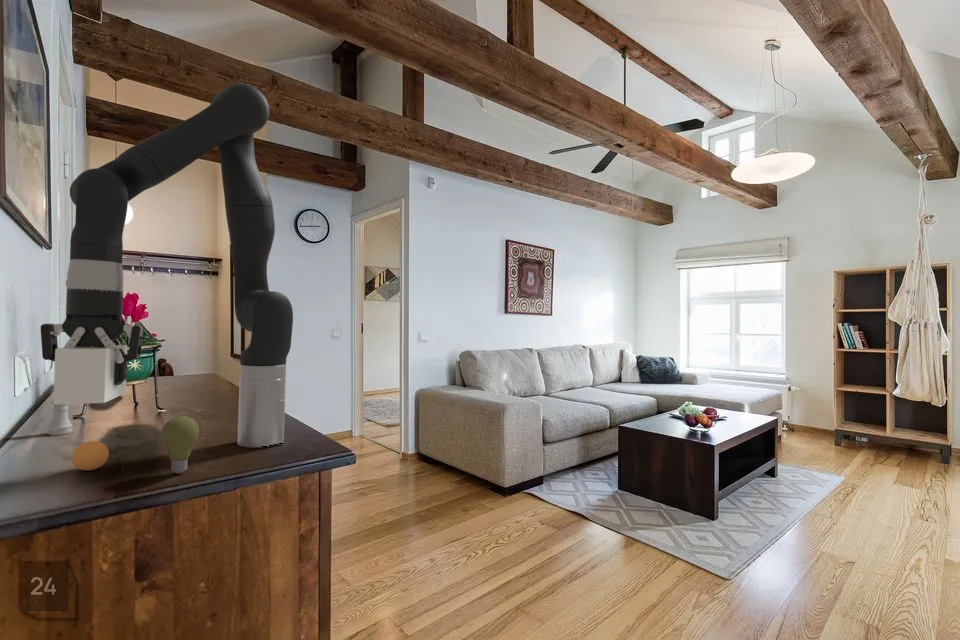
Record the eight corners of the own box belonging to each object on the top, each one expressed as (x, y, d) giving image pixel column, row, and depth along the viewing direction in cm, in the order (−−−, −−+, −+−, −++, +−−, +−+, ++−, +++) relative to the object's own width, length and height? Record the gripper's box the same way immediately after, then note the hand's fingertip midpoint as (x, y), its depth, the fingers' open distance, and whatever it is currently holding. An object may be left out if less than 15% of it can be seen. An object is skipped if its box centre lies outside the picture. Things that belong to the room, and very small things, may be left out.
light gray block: (125, 392, 87) (127, 345, 87) (104, 402, 77) (106, 349, 77) (81, 393, 85) (83, 344, 85) (53, 404, 75) (55, 348, 75)
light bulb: (174, 467, 85) (176, 412, 85) (204, 469, 85) (206, 413, 85) (151, 477, 80) (153, 418, 80) (184, 479, 80) (186, 420, 80)
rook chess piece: (57, 436, 103) (58, 399, 103) (40, 434, 104) (42, 398, 104) (78, 431, 108) (79, 396, 108) (62, 430, 108) (63, 395, 108)
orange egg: (97, 461, 80) (105, 475, 83) (109, 435, 84) (116, 450, 87) (62, 461, 79) (71, 476, 82) (75, 435, 82) (83, 450, 85)
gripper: (151, 291, 87) (148, 381, 87) (53, 287, 82) (50, 382, 82) (139, 289, 80) (136, 387, 80) (31, 284, 75) (27, 389, 75)
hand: (92, 384), depth 81 cm, fingers closed on light gray block, 6 cm apart
